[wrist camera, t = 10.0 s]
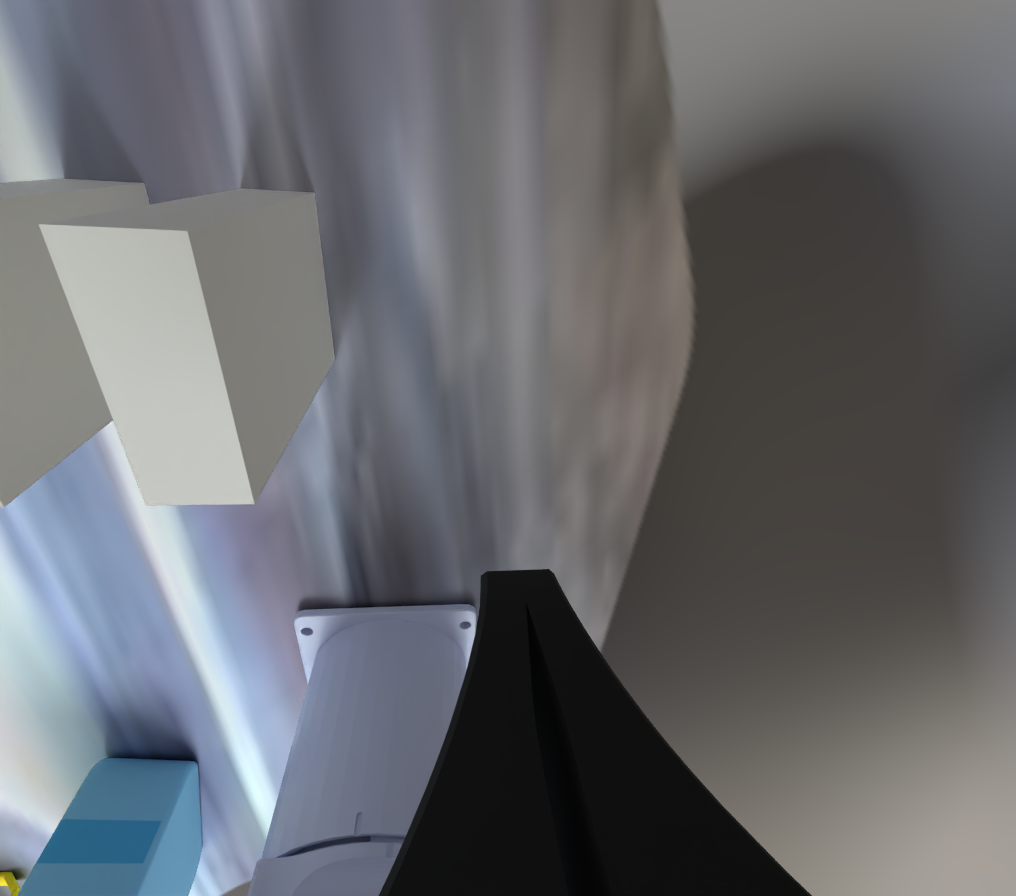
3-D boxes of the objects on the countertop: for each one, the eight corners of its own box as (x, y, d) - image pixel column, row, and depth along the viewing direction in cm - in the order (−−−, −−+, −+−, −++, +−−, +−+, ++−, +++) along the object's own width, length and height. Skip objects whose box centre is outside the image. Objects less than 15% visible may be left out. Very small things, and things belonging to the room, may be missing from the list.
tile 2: (191, 356, 16) (4, 507, 9) (125, 355, 16) (-118, 508, 9) (144, 182, 14) (-158, 215, 7) (64, 178, 14) (-333, 207, 7)
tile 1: (335, 359, 17) (254, 504, 10) (272, 358, 17) (145, 505, 10) (314, 192, 14) (188, 231, 7) (240, 188, 14) (38, 224, 7)
